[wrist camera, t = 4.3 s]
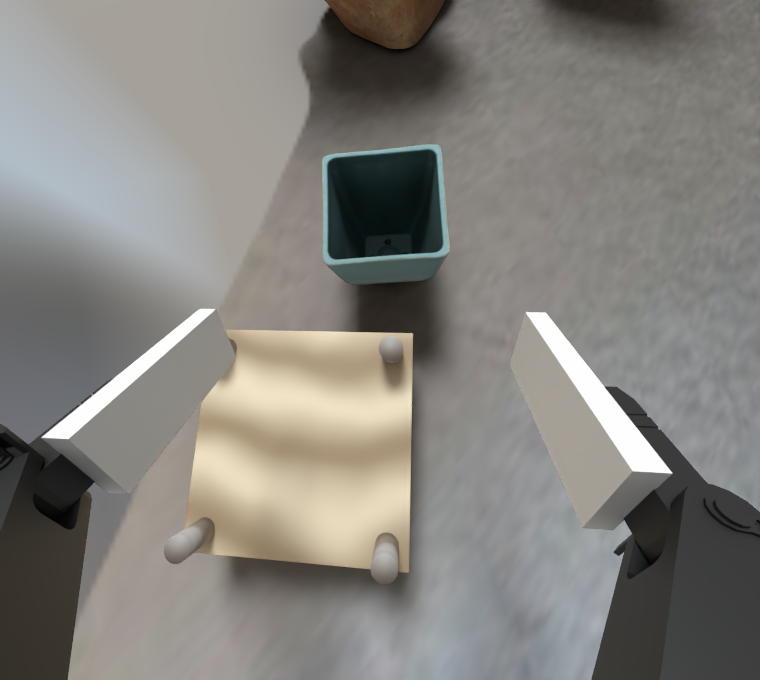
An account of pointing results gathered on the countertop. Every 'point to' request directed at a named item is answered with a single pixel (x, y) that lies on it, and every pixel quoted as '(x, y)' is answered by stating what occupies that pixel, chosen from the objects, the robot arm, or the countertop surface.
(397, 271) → the flower pot
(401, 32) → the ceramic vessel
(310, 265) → the countertop surface
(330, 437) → the plant stand
